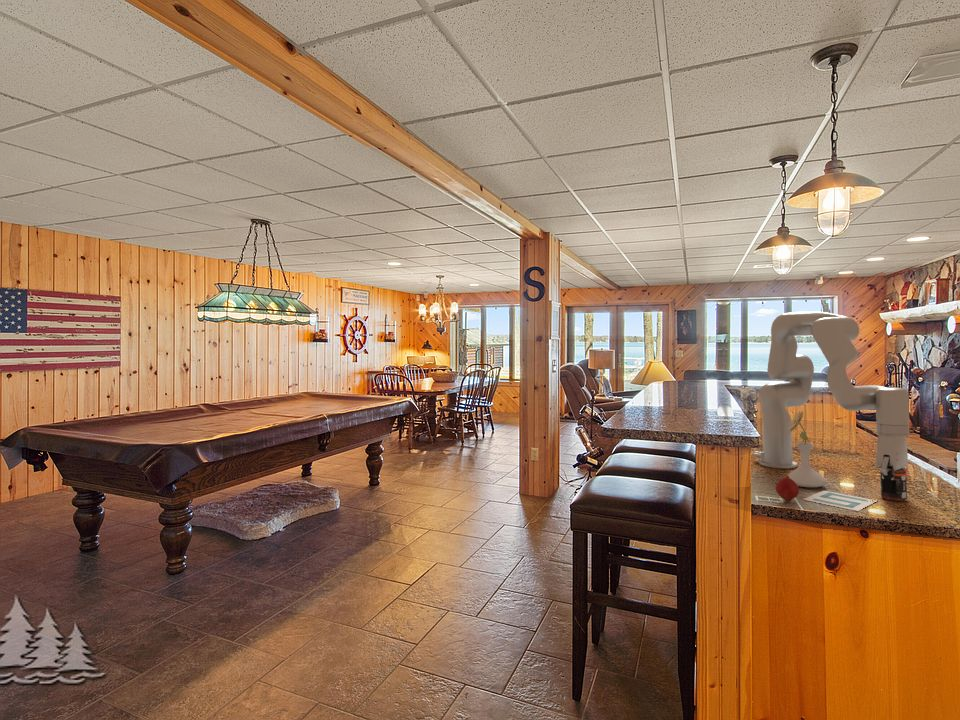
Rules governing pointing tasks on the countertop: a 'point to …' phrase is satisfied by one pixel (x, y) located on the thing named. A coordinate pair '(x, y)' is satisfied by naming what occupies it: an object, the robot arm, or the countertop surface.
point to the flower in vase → (804, 460)
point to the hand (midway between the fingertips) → (893, 490)
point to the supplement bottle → (901, 486)
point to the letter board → (840, 500)
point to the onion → (787, 489)
